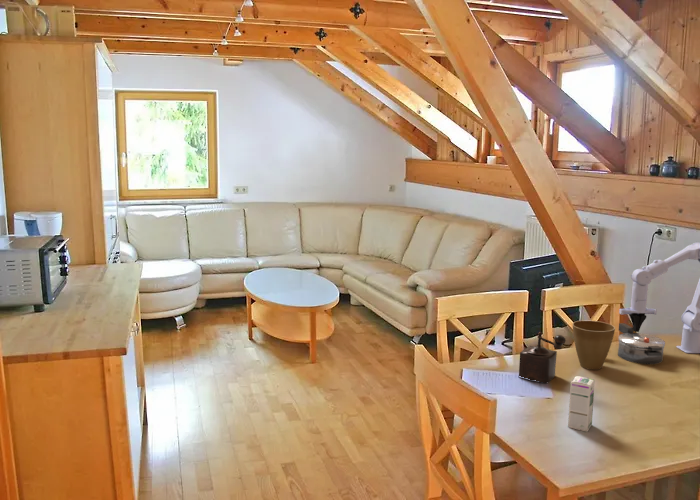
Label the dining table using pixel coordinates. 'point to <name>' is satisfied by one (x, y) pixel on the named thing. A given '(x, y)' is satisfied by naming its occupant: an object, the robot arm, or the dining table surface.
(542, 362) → the manual coffee grinder
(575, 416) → the syrup box
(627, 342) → the lid
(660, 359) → the clear plastic food container
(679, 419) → the dining table surface
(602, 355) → the plant pot
